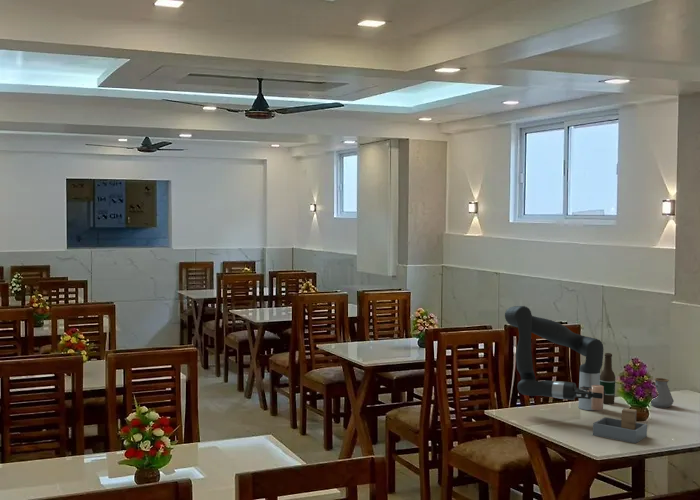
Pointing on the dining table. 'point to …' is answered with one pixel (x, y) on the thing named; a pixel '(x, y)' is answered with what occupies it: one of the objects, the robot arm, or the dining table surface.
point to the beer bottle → (608, 380)
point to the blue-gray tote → (618, 430)
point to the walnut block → (628, 419)
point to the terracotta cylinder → (597, 402)
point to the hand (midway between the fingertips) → (603, 394)
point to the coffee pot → (662, 394)
